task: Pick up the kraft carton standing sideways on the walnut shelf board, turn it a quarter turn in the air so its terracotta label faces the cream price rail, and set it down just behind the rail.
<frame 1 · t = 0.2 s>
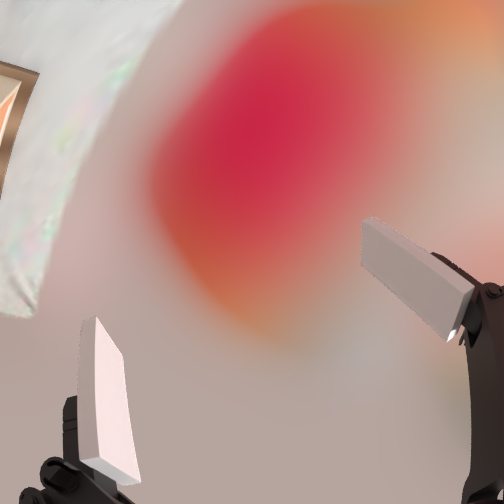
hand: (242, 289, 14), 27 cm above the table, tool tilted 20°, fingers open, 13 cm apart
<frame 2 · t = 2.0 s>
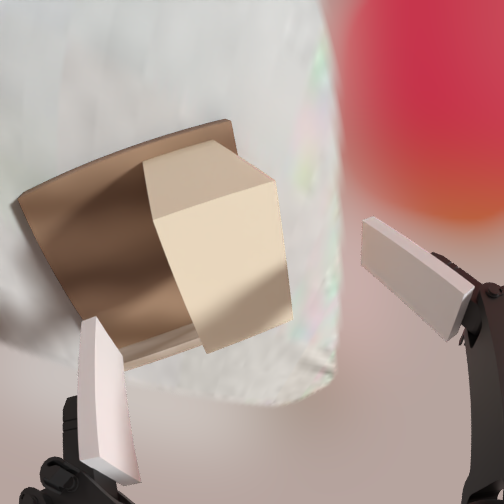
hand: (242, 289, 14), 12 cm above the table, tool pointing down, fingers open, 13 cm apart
carton: (191, 202, 22), point 1 cm above the table, touching shelf board
shelf board: (152, 250, 24), on the table
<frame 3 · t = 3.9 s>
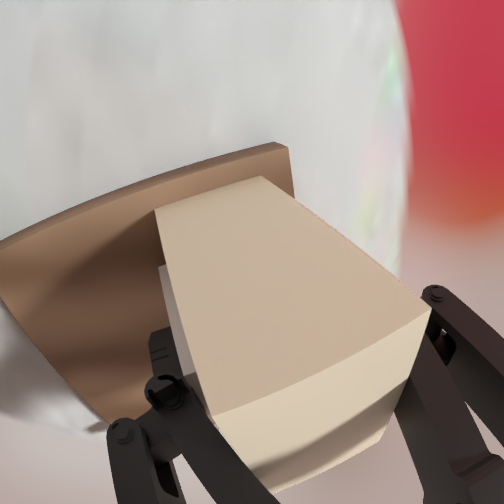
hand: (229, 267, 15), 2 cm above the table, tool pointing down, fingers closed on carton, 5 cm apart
carton: (227, 264, 16), point 1 cm above the table, touching gripper, shelf board
shelf board: (171, 320, 18), on the table
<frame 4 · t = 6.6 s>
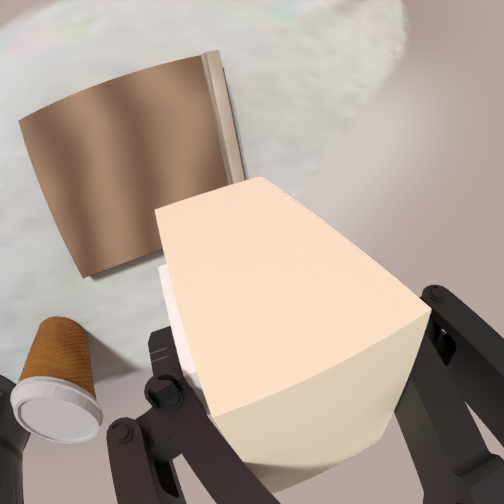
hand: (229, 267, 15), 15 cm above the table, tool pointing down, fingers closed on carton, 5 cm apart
disposable coffee cup: (62, 335, 30), on the table
carton: (227, 264, 16), point 15 cm above the table, touching gripper
shelf board: (135, 165, 25), on the table
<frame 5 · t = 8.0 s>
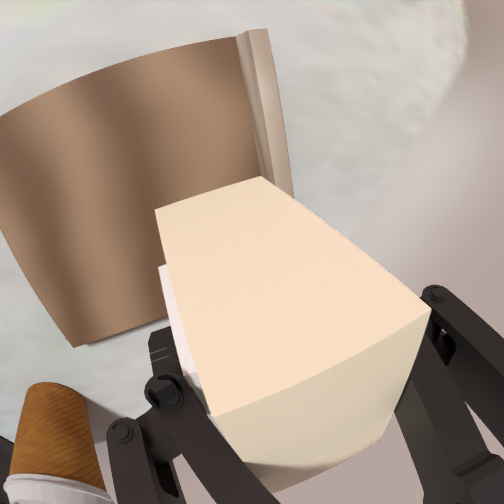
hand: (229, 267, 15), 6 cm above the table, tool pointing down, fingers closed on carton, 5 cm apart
disposable coffee cup: (56, 400, 23), on the table
carton: (227, 264, 16), point 5 cm above the table, touching gripper
shelf board: (135, 199, 18), on the table
when the fingers open (4 cm above the table, at t = 9.2 s): carton drops 2 cm, resting on shelf board.
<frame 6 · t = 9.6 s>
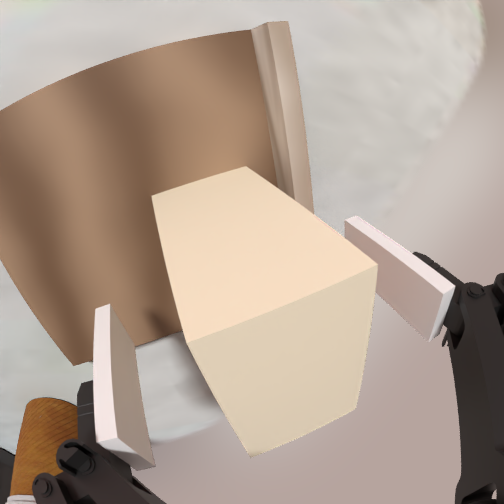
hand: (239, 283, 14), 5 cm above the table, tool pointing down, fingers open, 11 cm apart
disposable coffee cup: (56, 414, 21), on the table
carton: (217, 246, 17), point 1 cm above the table, touching shelf board
shelf board: (138, 209, 16), on the table
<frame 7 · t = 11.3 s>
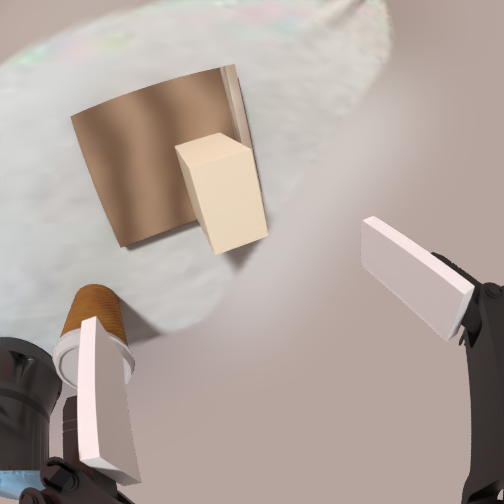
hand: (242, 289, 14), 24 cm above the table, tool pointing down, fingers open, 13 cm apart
disposable coffee cup: (96, 302, 38), on the table
carton: (206, 173, 33), point 1 cm above the table, touching shelf board
shelf board: (167, 154, 32), on the table
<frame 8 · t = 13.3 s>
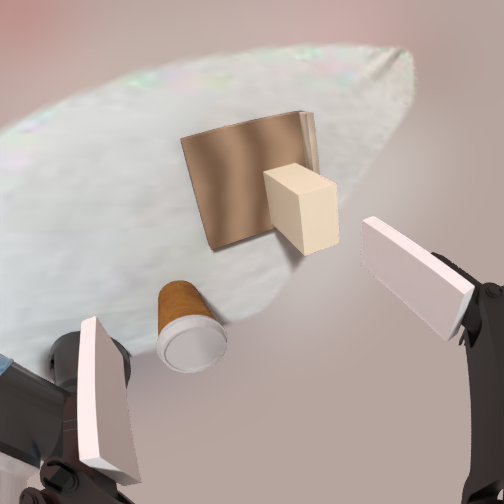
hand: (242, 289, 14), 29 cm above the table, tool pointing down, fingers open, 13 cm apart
disposable coffee cup: (177, 296, 48), on the table
carton: (283, 193, 44), point 1 cm above the table, touching shelf board
shelf board: (253, 177, 43), on the table
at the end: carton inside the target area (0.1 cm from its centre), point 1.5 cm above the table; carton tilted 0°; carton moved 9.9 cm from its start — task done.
